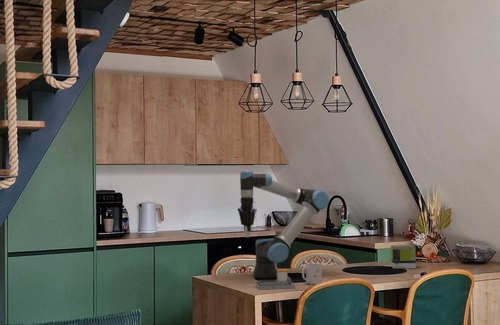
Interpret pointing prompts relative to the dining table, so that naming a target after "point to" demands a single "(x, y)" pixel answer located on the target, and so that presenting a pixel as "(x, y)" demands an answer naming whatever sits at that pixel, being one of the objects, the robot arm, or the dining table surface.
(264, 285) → the grey tray
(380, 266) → the dining table surface
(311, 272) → the mug
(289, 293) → the dining table surface
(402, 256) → the tea box
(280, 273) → the grey orange-topped container
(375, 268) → the dining table surface
